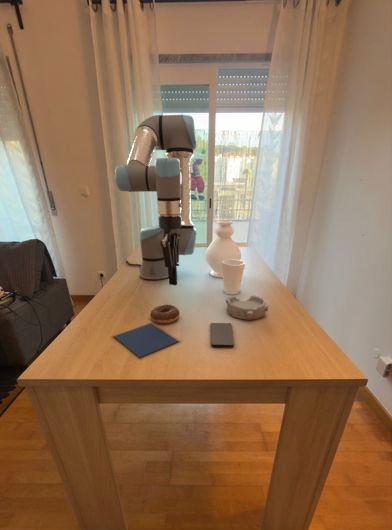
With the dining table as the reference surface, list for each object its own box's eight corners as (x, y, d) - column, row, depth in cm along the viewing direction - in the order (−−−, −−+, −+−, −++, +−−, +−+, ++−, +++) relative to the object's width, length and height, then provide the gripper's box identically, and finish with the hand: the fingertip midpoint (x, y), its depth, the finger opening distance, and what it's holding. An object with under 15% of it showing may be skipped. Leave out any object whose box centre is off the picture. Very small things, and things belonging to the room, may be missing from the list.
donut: (181, 324, 99) (180, 314, 96) (150, 326, 97) (149, 315, 95) (178, 311, 107) (178, 301, 105) (150, 313, 106) (149, 303, 104)
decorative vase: (230, 267, 156) (233, 218, 143) (245, 277, 142) (250, 223, 128) (200, 270, 151) (200, 219, 138) (212, 281, 137) (213, 225, 124)
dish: (220, 309, 109) (221, 296, 107) (251, 303, 114) (252, 291, 111) (240, 325, 98) (241, 311, 95) (273, 318, 103) (275, 305, 100)
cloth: (113, 337, 91) (113, 336, 91) (150, 324, 99) (150, 323, 99) (139, 358, 81) (139, 357, 81) (178, 341, 89) (178, 341, 88)
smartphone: (230, 322, 98) (234, 345, 85) (230, 325, 98) (233, 347, 85) (210, 322, 98) (211, 344, 85) (210, 324, 98) (210, 347, 85)
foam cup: (241, 296, 120) (244, 266, 113) (219, 295, 122) (221, 264, 115) (242, 288, 128) (245, 259, 121) (222, 287, 130) (223, 258, 123)
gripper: (173, 218, 86) (176, 291, 99) (187, 212, 97) (188, 279, 110) (150, 217, 88) (156, 289, 101) (166, 211, 98) (170, 277, 111)
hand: (173, 284), depth 105 cm, fingers closed
